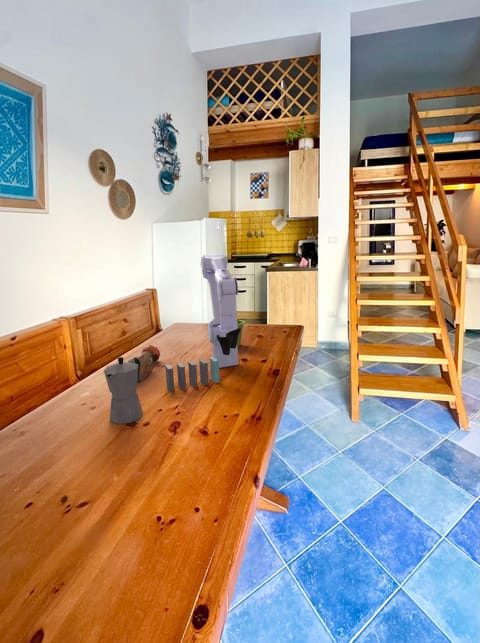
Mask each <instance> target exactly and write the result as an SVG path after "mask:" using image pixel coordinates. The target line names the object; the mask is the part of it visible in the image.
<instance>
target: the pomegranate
mask: <svg viewBox="0 0 480 643" xmlns="http://www.w3.org/2000/svg"><path fill="white" fill-rule="evenodd" d="M147 351H149V352H151V354H152V356H153V363H155V362H157V361H159V359H160V356H161V351H160V349H159V348H158V347H157V346H154V345H151V344H150V345H148V346H145V347H144V348H143V349H142V350H141V352H147Z"/></svg>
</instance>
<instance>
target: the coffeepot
mask: <svg viewBox="0 0 480 643" xmlns="http://www.w3.org/2000/svg"><path fill="white" fill-rule="evenodd" d="M139 371H140V361H139V360H138V358H134V357H133V358H132V359H129V360H127V362H124V357H122V356H120V357H117V363H114V364H110V365H107V366H106V367H105V369H104V370H103V372H104V377H105V380H106V384H107V387H108V391H109V393H111V400H110V413H109V414H110V415H109V421H111V422H112V423H114V424H117V425H126V424H130V423H135V422H136V421H138V420H140V418H142V416H143V412H144V411H143V408H142V405H141V401H140V397H139V394H138V392H137V389H138V385H139Z"/></svg>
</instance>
